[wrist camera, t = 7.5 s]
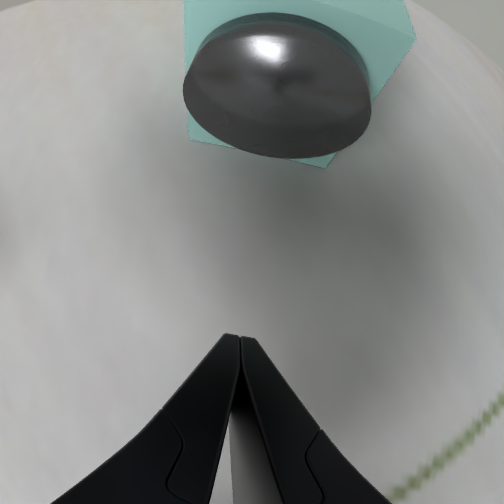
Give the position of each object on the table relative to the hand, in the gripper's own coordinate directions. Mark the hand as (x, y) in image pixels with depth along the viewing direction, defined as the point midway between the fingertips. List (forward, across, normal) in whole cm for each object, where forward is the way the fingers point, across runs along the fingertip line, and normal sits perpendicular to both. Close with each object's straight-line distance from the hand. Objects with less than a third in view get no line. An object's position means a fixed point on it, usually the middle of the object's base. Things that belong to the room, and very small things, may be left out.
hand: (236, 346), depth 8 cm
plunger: (+13, 0, +7) cm, 15 cm away
